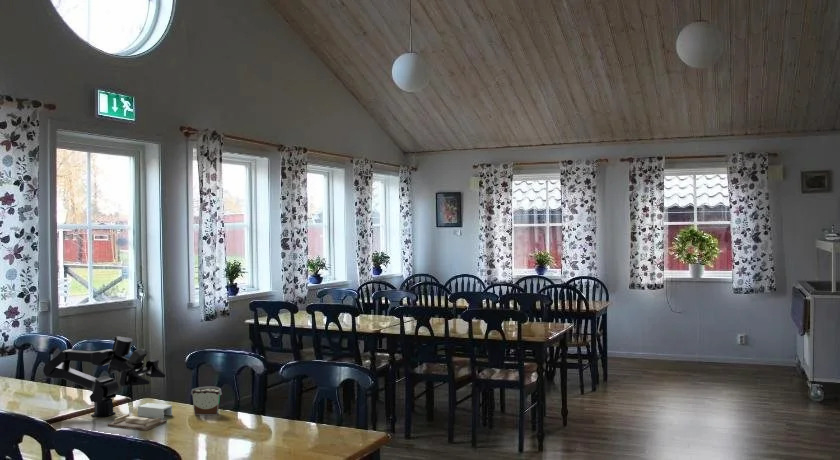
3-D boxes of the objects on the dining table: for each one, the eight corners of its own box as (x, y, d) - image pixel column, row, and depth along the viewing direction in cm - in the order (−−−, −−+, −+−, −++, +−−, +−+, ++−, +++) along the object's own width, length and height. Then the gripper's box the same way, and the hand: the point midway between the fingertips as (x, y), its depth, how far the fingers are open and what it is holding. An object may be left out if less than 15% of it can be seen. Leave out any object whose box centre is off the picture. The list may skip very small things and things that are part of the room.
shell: (137, 416, 271) (137, 406, 270) (147, 412, 276) (147, 402, 276) (162, 419, 267) (162, 408, 267) (172, 415, 272) (172, 405, 272)
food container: (226, 411, 277) (226, 386, 277) (220, 415, 271) (220, 390, 271) (197, 410, 278) (197, 385, 278) (190, 414, 272) (190, 389, 272)
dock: (107, 426, 257) (107, 419, 257) (128, 418, 267) (128, 412, 267) (146, 430, 251) (146, 424, 251) (166, 422, 261) (166, 416, 261)
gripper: (111, 352, 259) (145, 366, 255) (144, 341, 277) (176, 354, 273) (105, 379, 261) (139, 394, 257) (139, 367, 278) (171, 380, 274)
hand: (157, 379), depth 265 cm, fingers open, 9 cm apart
